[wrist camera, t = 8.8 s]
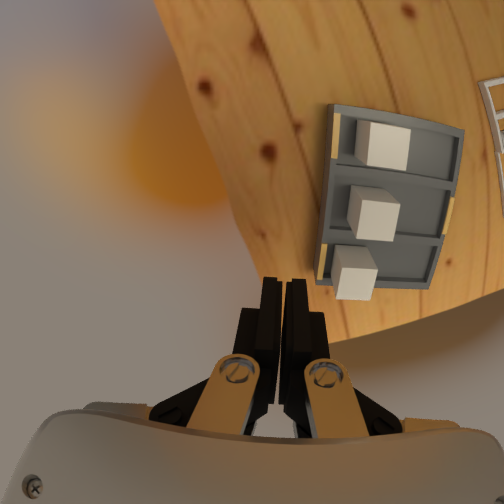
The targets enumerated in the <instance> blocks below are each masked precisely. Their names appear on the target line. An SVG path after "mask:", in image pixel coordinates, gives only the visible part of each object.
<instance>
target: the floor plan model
mask: <svg viewBox="0 0 504 504" xmlns="http://www.w3.org/2000/svg"><path fill="white" fill-rule="evenodd" d="M503 83H504V76H503V77H499V78H494V79H490V80H485V81H481V82H478V85H479V88H480V91H481V94H482V97H483V101H484V104H485V107H486V111H487V115H488V119H489V122H490V127H491V131H492V135H493V140H494V145H495V149H496V151H495V157H496V162H497V168H498V175H499V182H500V190H501V198H502V209H503V218H504V179H503V172H502V165H501V159H500V153H502V154H503V153H504V130H503V131H500V129H499V125H498V124H499V122H498V120H499V119H502V118H504V110H500V111H497V112H495V109H494V105H493V101H492V98H491V95H490V91H489V88H488V87H490V86H494V85H498V84H503Z"/></svg>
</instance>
